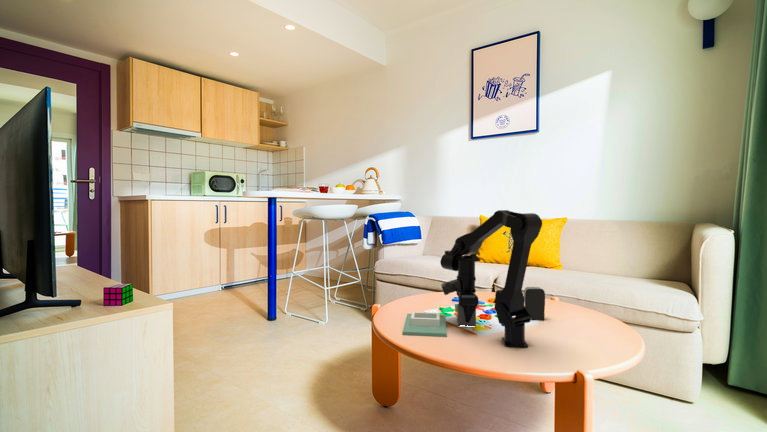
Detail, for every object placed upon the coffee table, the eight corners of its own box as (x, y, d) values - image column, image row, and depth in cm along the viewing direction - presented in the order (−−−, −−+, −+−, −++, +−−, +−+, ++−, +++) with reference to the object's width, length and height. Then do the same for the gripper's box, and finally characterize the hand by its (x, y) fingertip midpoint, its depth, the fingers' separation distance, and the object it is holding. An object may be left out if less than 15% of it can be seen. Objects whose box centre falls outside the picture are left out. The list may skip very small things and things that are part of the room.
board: (446, 336, 117) (446, 325, 117) (402, 334, 119) (402, 324, 119) (445, 317, 137) (445, 308, 137) (407, 316, 139) (407, 306, 139)
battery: (542, 317, 136) (542, 286, 136) (545, 320, 133) (545, 288, 132) (522, 316, 138) (523, 285, 137) (524, 319, 134) (525, 288, 133)
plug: (475, 327, 125) (475, 307, 125) (455, 327, 126) (455, 306, 126) (474, 324, 129) (474, 304, 129) (454, 323, 130) (454, 303, 130)
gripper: (442, 268, 138) (442, 309, 138) (443, 278, 119) (443, 326, 120) (473, 268, 136) (472, 310, 136) (478, 278, 117) (478, 327, 118)
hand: (466, 318), depth 128 cm, fingers open, 9 cm apart
